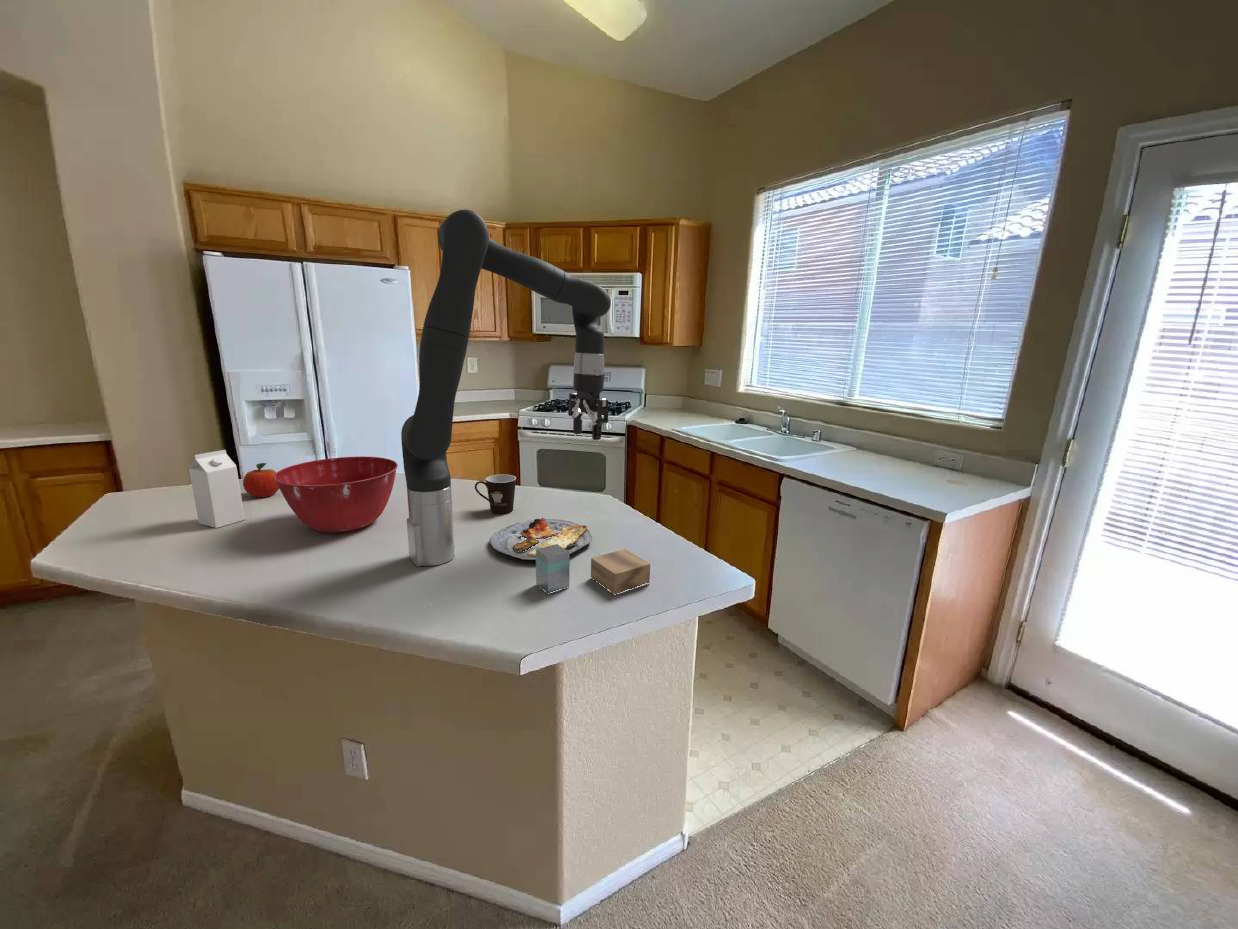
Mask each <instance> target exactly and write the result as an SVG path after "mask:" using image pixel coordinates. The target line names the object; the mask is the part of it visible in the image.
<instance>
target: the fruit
mask: <svg viewBox="0 0 1238 929" xmlns="http://www.w3.org/2000/svg"><path fill="white" fill-rule="evenodd" d="M267 464H268V463H266V462H261V463H260V462H259V463H256V468H257V469H253V470H250V471H248V472H246V474H245V475H244V477H243V479H242V486H243V488H244V490H245V492H246V493H247V494H249V496H252V497H254V498H266V497H271V496H273V495H275V494H276V493H277V492H278V491H279V490H280V489H279V486H278V484H277V482H276V481H275V480H274V479H273V476H274V475H275V473H277V472H278V471H275V470H274V469H272V468H271V469H263V468H264V467H265V466H266V465H267Z"/></svg>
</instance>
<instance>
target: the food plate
mask: <svg viewBox="0 0 1238 929" xmlns="http://www.w3.org/2000/svg"><path fill="white" fill-rule="evenodd" d="M553 530H557V531H561V533H560V532H558V533H560V534H558V533H556V532H554V531H553ZM518 532H520V533H518ZM517 533H518V534H521V535H522V537H524V538H527V539H526V540H524V541H523V542H521V543H519V542H516V543H514V544H513V545H512V548H514V549H515V550H514V549H513V550H514V551H513V550H511V549H510V548H509V546H508V545H509V544H508V541H509V540H511V538H513V537H512V535H511V534H517ZM514 536H516V535H514ZM552 536H554V537H553V538H551V540H550V539H549V541H547V542H544V544H542V545H541V546H540V547H538V548H534V549H533V550H531V551H529V550H528V549H529V548H531V547H532V546H535V545H536V544H538V543H539V540H536V539H546V538H548V537H552ZM513 539H514V538H513ZM592 541H593V537H592V535H591V533H590V530H589V529H588V526H587V525H582V524H578V523H575V522H572V521H569V520H563V519H554V518H553V519H551V518H549V519H548V518H544V517H542V518H536V519H532V520H531V519H530V520H526V521H521V522H516V523H514V524H511V525H509V526H506V527H505V528H502V529H499V530H498V531H496V532H494V533H493V534H492V535H491V536H490V538H489V544H491V546H492V547H493V549H494V550H496V551H498V552H500V553H502V554H505V555H507V556H509V557H513V558H519V559H521V560H528V561H529V560H536V549H539V548H543V547H547V546H551V545H555V544H558V545H559V546H561V547H562V548H564V549H565V550H567V551H568V552H570V554H571V555H572V554H573V553H574V552H577V551H579V550H580V549H581V548H583V547H585V546H587V545H588V544H590V543H591V542H592ZM507 546H508V547H507ZM508 548H509V549H508ZM510 550H511V551H510ZM525 550H528V551H529V552H527V553H526V555H524V554H521V553H519V552H523V551H525ZM516 551H517V552H516ZM518 551H519V552H518ZM523 553H524V552H523Z"/></svg>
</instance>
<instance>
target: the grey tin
mask: <svg viewBox="0 0 1238 929" xmlns="http://www.w3.org/2000/svg"><path fill="white" fill-rule="evenodd" d="M535 549H536V548H535ZM570 561H571V560H570V552H568V551H567V550H565V549H564V548H562V547H561V546H559V545H558V544H555V545H551V546H547V547H543V548H539V549H536V559H535V581H536V582H535V584H537V585H539V586H540V587H541V588H542V589H544V590H545V591H546V592H547V593H550V592H553V591H556V590H559V589H564V588H567V587H569V588H570V564H571V563H570ZM537 585H536V586H537ZM540 587H539V588H540ZM541 588H540V589H541ZM542 589H541V590H542ZM567 589H568V588H567ZM564 590H565V589H564ZM546 592H545V593H546ZM547 593H546V594H547Z"/></svg>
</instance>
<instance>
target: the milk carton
mask: <svg viewBox="0 0 1238 929" xmlns="http://www.w3.org/2000/svg"><path fill="white" fill-rule="evenodd" d="M188 471H189V475H190V476H189V477H190V482H191V486H192V493H193V498H194V503H195V509H196V514H197V520H198V523H199V525H200V524H201V525H203V526H208V527H211V528H216V529H217V528H221V527H224V526H228V525H231V524H234V523H238V522H241V521H244V520H245V519H246V518H245V512H244V506H243V505H244V504H243V499H242V498H243V497H242V493H241V492H242V491H241V486H240V481H239V474H238V468H237V464H236V463H235V462H234V461H233V460H232V459H231V457H230V456H229V455H228V454H227V450H226V449H221V450H217V451H216V450H215V451H210V452H209V451H208V452H204V453H197V454H194V461H193V462H192V463H191V465H190V466H189V467H188Z"/></svg>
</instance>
